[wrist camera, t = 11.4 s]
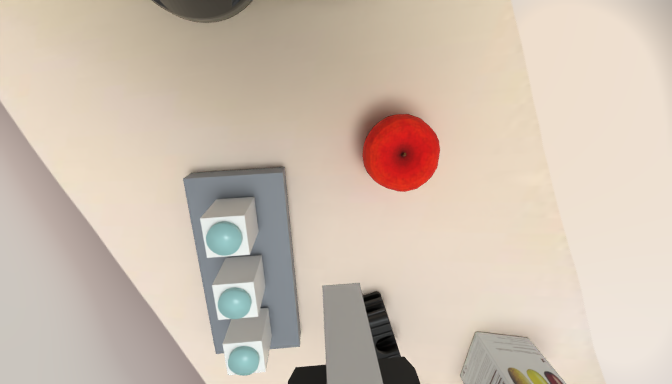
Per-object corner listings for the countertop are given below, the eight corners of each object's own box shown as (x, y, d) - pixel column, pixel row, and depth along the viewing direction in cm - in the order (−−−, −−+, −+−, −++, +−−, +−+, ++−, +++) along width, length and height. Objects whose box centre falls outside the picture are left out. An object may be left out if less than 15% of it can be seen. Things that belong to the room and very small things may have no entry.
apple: (435, 156, 46) (458, 169, 39) (378, 190, 47) (390, 210, 39) (403, 96, 43) (422, 99, 36) (344, 134, 44) (350, 144, 37)
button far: (234, 310, 47) (220, 349, 40) (268, 307, 47) (260, 345, 40) (238, 338, 48) (226, 380, 41) (271, 335, 49) (264, 376, 42)
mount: (191, 172, 45) (166, 190, 37) (284, 167, 45) (278, 183, 37) (221, 339, 52) (205, 382, 45) (300, 332, 53) (298, 374, 45)
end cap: (333, 301, 52) (336, 332, 45) (378, 287, 52) (387, 316, 45) (352, 352, 55) (357, 388, 48) (395, 339, 55) (406, 373, 48)
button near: (216, 199, 42) (197, 221, 35) (254, 196, 42) (242, 218, 36) (221, 233, 44) (204, 261, 37) (258, 231, 44) (248, 258, 37)
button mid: (225, 257, 45) (209, 289, 38) (261, 255, 45) (252, 285, 38) (230, 288, 46) (216, 324, 39) (265, 286, 46) (257, 321, 39)
